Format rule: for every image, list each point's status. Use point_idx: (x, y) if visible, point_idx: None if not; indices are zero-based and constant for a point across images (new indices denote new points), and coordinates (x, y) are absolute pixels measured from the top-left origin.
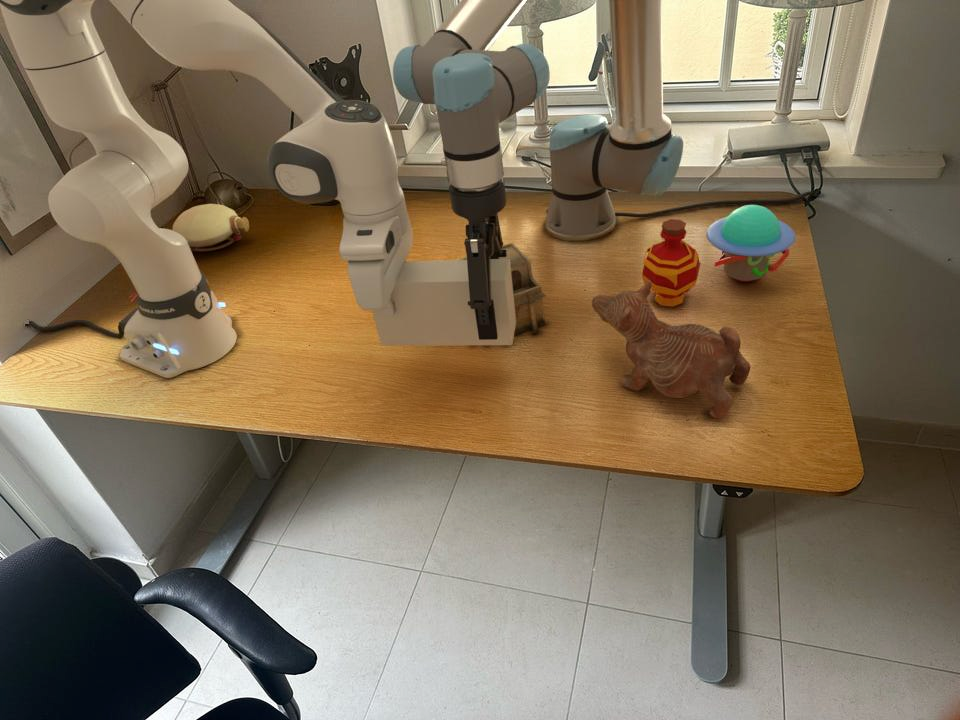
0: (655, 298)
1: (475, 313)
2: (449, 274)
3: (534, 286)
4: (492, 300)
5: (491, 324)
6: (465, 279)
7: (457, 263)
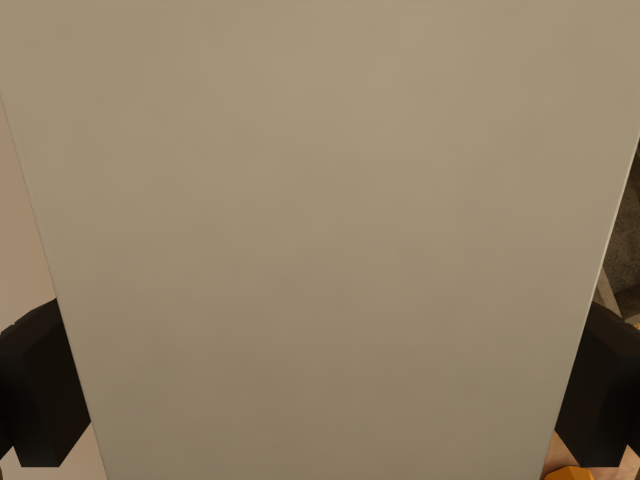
0: (571, 469)
1: (50, 304)
2: (204, 109)
3: (635, 303)
4: (47, 465)
5: None
6: (103, 346)
7: (521, 183)
